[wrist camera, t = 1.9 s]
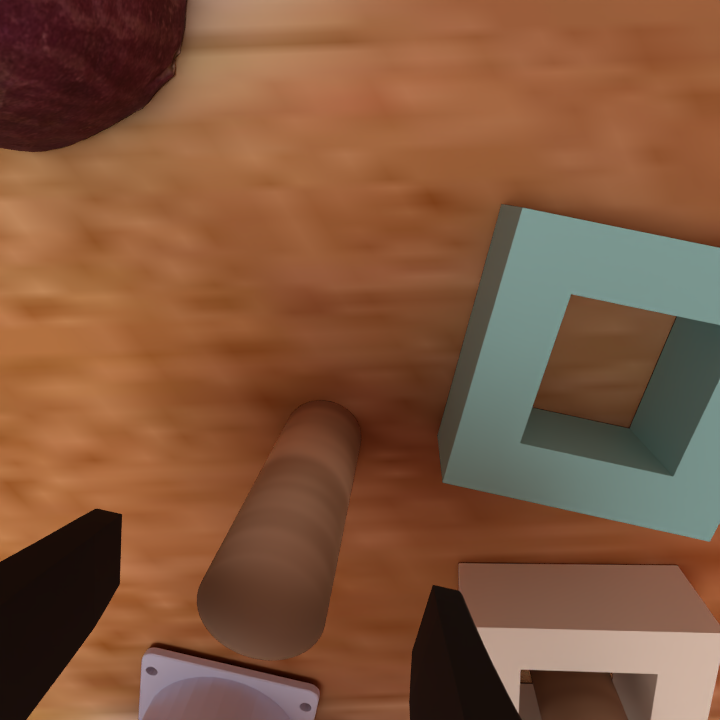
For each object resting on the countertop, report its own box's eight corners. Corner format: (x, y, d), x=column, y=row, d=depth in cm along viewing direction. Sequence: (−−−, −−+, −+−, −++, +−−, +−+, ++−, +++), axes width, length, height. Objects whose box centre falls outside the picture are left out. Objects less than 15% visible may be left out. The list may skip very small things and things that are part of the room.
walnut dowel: (581, 676, 21) (646, 860, 15) (515, 661, 21) (554, 838, 15) (605, 626, 20) (684, 802, 14) (535, 610, 20) (585, 779, 14)
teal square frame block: (661, 484, 17) (709, 541, 15) (437, 435, 18) (442, 482, 15) (767, 258, 15) (851, 275, 12) (501, 204, 15) (522, 207, 12)
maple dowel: (353, 476, 19) (314, 672, 11) (280, 460, 19) (192, 644, 11) (368, 409, 18) (336, 574, 10) (291, 392, 18) (202, 543, 10)
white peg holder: (652, 720, 21) (689, 802, 18) (459, 711, 22) (466, 788, 19) (677, 565, 18) (725, 633, 16) (458, 563, 19) (466, 626, 17)
